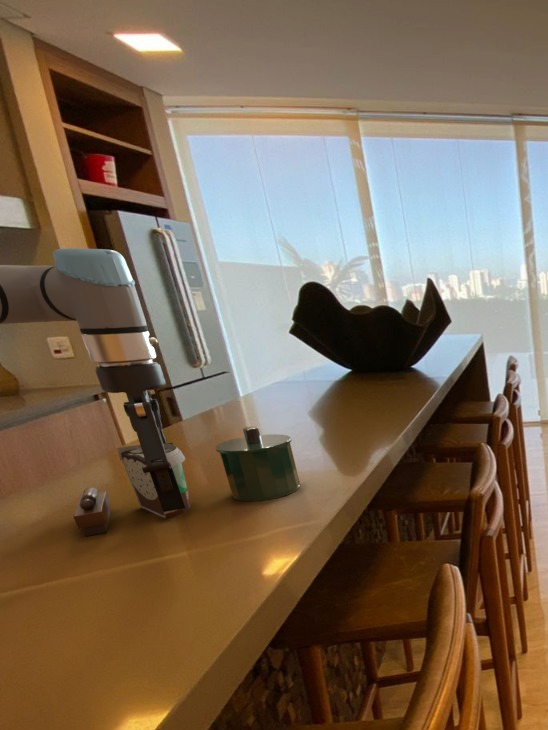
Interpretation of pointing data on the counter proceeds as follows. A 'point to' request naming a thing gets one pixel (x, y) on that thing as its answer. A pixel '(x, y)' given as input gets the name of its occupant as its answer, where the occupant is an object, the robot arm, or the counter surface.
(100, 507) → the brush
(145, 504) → the food container
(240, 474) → the pot
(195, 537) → the counter surface
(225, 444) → the pot lid
